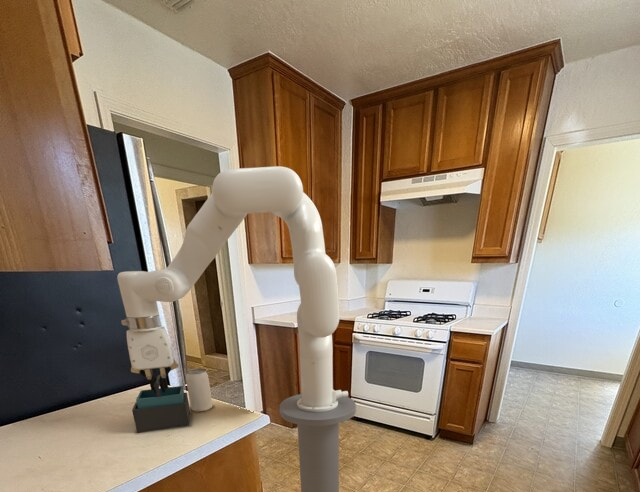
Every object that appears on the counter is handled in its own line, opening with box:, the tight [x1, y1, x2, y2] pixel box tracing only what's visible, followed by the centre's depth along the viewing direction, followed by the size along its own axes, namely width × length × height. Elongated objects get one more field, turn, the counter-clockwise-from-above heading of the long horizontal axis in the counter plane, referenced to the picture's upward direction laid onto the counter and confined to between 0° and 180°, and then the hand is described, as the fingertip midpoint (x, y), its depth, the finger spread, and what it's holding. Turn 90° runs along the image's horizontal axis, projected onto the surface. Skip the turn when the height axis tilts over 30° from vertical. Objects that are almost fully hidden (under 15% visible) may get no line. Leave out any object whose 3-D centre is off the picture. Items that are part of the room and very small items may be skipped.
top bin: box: [135, 374, 185, 409], centre depth 98 cm, size 11×8×11 cm
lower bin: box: [131, 392, 191, 434], centre depth 100 cm, size 13×10×7 cm
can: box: [185, 368, 213, 413], centre depth 108 cm, size 6×6×12 cm
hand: (160, 391), depth 97 cm, fingers closed on top bin, 1 cm apart
